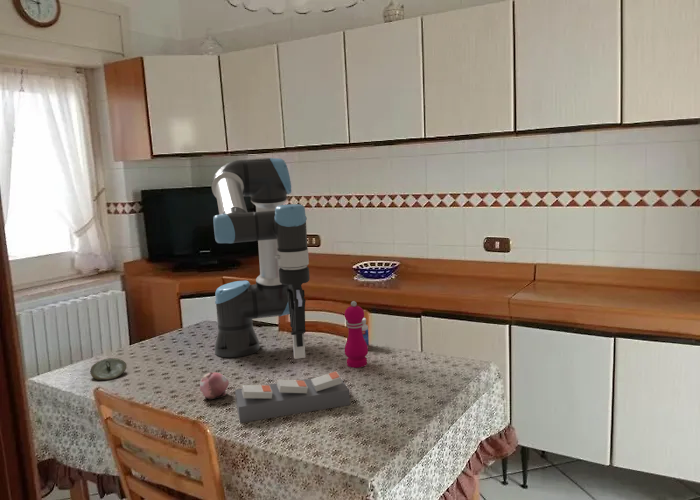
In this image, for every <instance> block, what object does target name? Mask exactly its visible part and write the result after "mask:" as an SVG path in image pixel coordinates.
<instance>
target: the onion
mask: <svg viewBox="0 0 700 500" xmlns="http://www.w3.org/2000/svg"><path fill="white" fill-rule="evenodd" d="M229 382H230V381H229V379H228V378H227V377H226V375H224V374H222V373H219V372H217V371H216V372H212V371H210V372H208V373H205V374H204V375H203V376H202V377H201V379H200V382H199V389H200V391H201V393H202V395H203V396H204V397H205V398H206V399H207V400H208V401H211V400H213V399H218V398H222V397H225V396H226V395H227V394H228V392H227V389H228V387H229Z"/></svg>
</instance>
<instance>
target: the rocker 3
mask: <svg viewBox="0 0 700 500" xmlns="http://www.w3.org/2000/svg"><path fill="white" fill-rule="evenodd" d="M310 379H311V378H310ZM341 379H342V378H341V375H340V374H339V373H338V372H337V371H335V370H334V371H332V372H329V373H326V374H322V375H319V376H317V377H313V379H311V382H312V385H313V387H314V389H315V390H316V392H317V391H320V390H323V389H326V388H329V387H332V386H335V385H338V384H341V383H342V381H343V379H342V380H341Z"/></svg>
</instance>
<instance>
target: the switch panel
mask: <svg viewBox="0 0 700 500" xmlns="http://www.w3.org/2000/svg"><path fill="white" fill-rule="evenodd" d="M313 378H314V377H313ZM313 378H312V377H311V378H306V379H300V380H301V381H305V383H306V385H307V387H308V390H307V393H285V392H279V389H278V387H277V383H272V384H269V385H270V387H271V390H272V399H269V398H243V394H242V388H237V389H234V393H235V394H234V395H235V405H236V409H237V416H238V419H239V420H238V421H239V423H240V424H241V423H246V422H253V421H260V420H265V419H271V418H278V417H282V416H288V415H290V416H291V415H297V414H302V413H310V412H314V411H320V410H326V409H333V408H340V407H346V406H351V397H350V396H351V395H350V393H351V392H350V389H349V388H348V386H347V385H346V383H345V382H344V381H343V379H342V378H341V380H342V383H341V384H338V385H335V386H332V387H329V388H326V389H323V390H320V391H317V392H316V390H315V389H314V387H313V385H312V382H311V379H313Z"/></svg>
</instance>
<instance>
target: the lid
mask: <svg viewBox="0 0 700 500" xmlns="http://www.w3.org/2000/svg"><path fill="white" fill-rule="evenodd" d="M127 367H128V366H127V362H126V361H124V360H123V359H120V358H115V357H109V358H108V357H107V358H104V359H101V360H99V361H97V362H95V363H94V364H93V365H92V366H91V368H90V369H89V373H90V376H91V377H92V378H93V379H94V380H95V381H110V380H114V379H116V378H119V377H120V376H122V375H123V373H124V372H125V371H126V370H127Z"/></svg>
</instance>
